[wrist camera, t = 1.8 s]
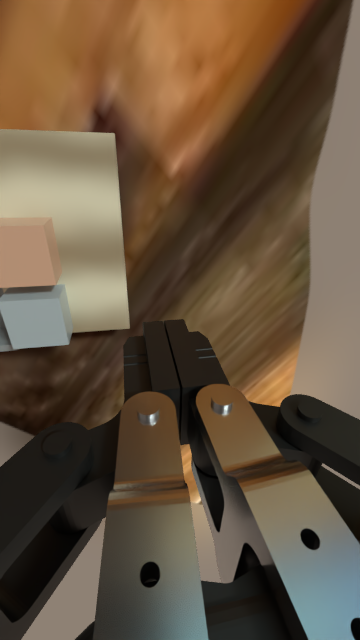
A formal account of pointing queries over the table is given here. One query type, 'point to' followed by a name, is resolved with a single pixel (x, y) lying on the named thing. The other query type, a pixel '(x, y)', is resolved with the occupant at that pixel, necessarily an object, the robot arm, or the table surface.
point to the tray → (4, 333)
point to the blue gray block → (37, 316)
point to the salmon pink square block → (28, 252)
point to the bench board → (72, 215)
